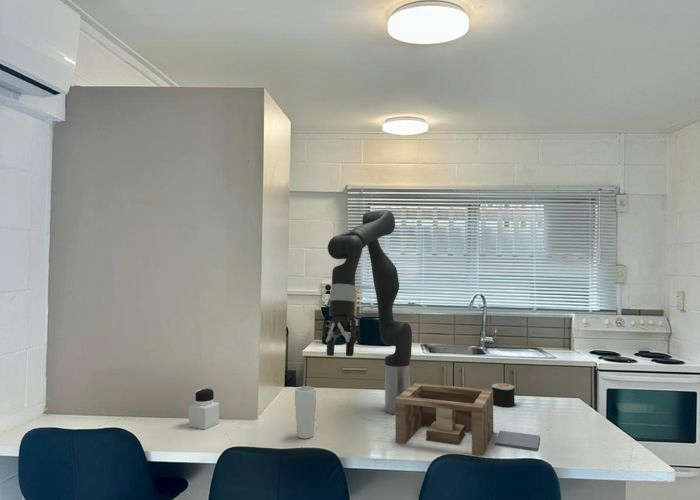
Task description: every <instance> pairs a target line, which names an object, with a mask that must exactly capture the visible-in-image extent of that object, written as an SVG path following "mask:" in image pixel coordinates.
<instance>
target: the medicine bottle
mask: <svg viewBox="0 0 700 500" xmlns="http://www.w3.org/2000/svg"><path fill="white" fill-rule="evenodd" d="M194 402H195V403H193V404H190V405H189V406H188V427H189V428H195V429H200V430H208V429H209V428H212V427H214V426H216V425H218V424H220V403H219V402H215V401H214V390H213V389H211V388H200V389H198V390H196V391H195V392H194Z"/></svg>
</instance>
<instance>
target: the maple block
mask: <svg viewBox="0 0 700 500" xmlns="http://www.w3.org/2000/svg"><path fill="white" fill-rule="evenodd" d="M455 426H456V422H455V410H452V409H443V408H436V429H440V430H448V431H453V429H454V428H455Z"/></svg>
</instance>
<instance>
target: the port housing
mask: <svg viewBox="0 0 700 500" xmlns="http://www.w3.org/2000/svg"><path fill="white" fill-rule="evenodd" d="M436 408H443V409H452V410H455V422H456V426H455V428H454V429H453V431H448V430H440V429H436ZM394 415H395V427H394V428H395V443H397V444H401V445H405V444H407V442H409V441H410V439H411V438H412V437H413V436H414V435H415V434H416V433H417V432H418V431H419V430H420V429H421V428H422V427H428V428H427V429H426V430H425V431H426V433H425V435H426V436H425V437H426V438H425V440H426V441H431V442H436V443H442V444H443V443H444V444H452V445H456V446H459V445H460V443H461V442H462V440H463V438H464V437H465V435H466V433H467V432H468V433H471V455H476V456H482V457H483V456H484V454H485V451H486V449H487V447H488V445H489V443H490V441H491V438H492V436H493V434H494V405H493V390H492V389H484V388H475V387H474V388H473V387H465V386H464V387H462V386H452V385H441V384H432V383H431V384H430V383H424V382H423V383H421V382H414V384H412V385H410V387H409V388H408V389H407V390H405V391H404V392H403V393H401V394H400V395H399V396H397V397H396V398H395V414H394Z"/></svg>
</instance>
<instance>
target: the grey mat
mask: <svg viewBox="0 0 700 500" xmlns="http://www.w3.org/2000/svg"><path fill="white" fill-rule="evenodd" d="M539 444H540V435H537V434H530V433H523V432H516V431H514V432H513V431H506V430H499V431H498V433H497V437H496V439H495V441H494V446H497V447H498V446H499V447H506V448H513V449H519V450H527V451H528V450H529V451H534V452H537V451H538V448H539Z"/></svg>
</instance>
